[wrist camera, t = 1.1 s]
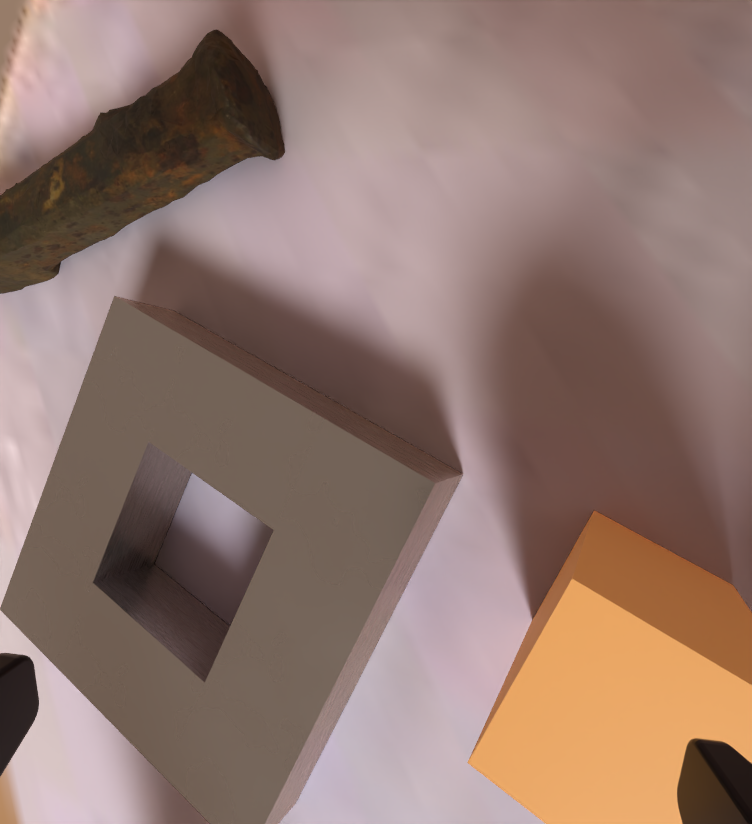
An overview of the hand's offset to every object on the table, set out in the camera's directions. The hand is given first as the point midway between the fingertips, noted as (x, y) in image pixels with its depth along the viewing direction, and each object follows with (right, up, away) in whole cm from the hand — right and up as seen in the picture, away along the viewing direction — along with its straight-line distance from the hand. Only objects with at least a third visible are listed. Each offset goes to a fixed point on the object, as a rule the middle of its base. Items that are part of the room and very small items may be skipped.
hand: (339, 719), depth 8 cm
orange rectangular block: (+8, -2, +9) cm, 12 cm away
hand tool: (-11, +12, +18) cm, 24 cm away
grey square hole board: (-5, -1, +15) cm, 16 cm away
